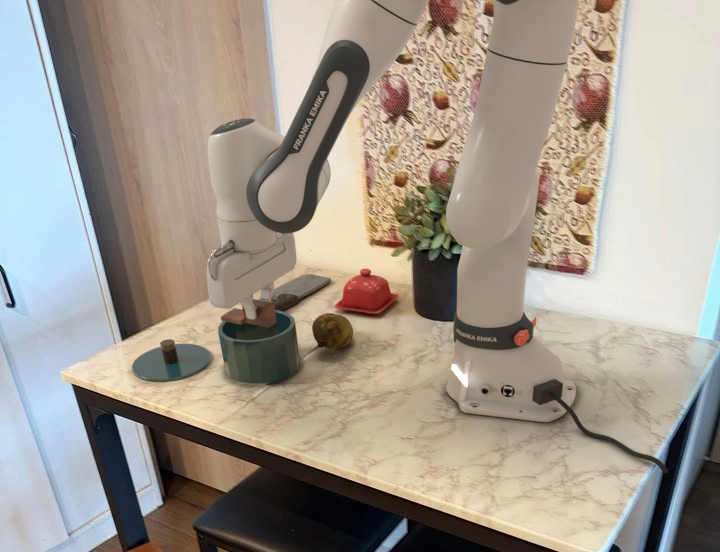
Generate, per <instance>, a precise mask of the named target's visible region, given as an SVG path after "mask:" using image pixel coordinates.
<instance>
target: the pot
mask: <svg viewBox="0 0 720 552" xmlns="http://www.w3.org/2000/svg"><path fill="white" fill-rule="evenodd" d="M275 313H276V320H277V323H275V324H274V325H272V326H271V327H264V326H258V325H253V324H248V323H243V324H242V325H240V324H235V323H230V322H225V321H221V323H219V325H218V327H217V332H218V333H217V334H218V339H219V345H220V350H221V355H222V360H223V365H224V371H225V374H226V375H227V376H228V377H229V378H230V379H231V380H234V381H236V382H239V383H245V384H265V386H269V385H274V384H276V383H277V384H278V383H280V382H283V381H285V380H287V379H289V378H291V377H292V376H294V375H296V373H297V372H298V371H299V369H300V366H301V360H300V351H299V350H300V349H299V342H298V335H297V326H296V325H297V324H296V320H295V317H294V316H293V315H291V314H290V313H288V312H286V311H284V310H282V311H279V310H275Z"/></svg>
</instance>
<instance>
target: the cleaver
mask: <svg viewBox="0 0 720 552" xmlns="http://www.w3.org/2000/svg"><path fill="white" fill-rule="evenodd" d="M330 282H332V278H331V277H327V276H322V275H316V274H312V273H310V274H309V273H308V274H304V275H301V276H299V277H296V278H294V279H291V280H290V281H288V282H285V283H283V284H281V285H280V286H277V287H276V288H274V290H273V294H272V298H271V301H272V300H273V301H272V302H273V303H274V305H275V310H279V311H284V310H286V309H289V308H290V307H292V306H294V305H296V304H297V303H299V300H301V299H303V298H305V297H306V296H308V295H310V294H312V293H314V292H315V291H317V290H319V289H321V288H323V287H324V286H326V285H327V284H329V283H330Z"/></svg>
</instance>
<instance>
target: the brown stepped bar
mask: <svg viewBox="0 0 720 552" xmlns="http://www.w3.org/2000/svg"><path fill="white" fill-rule="evenodd" d="M252 303H253V304H254V306H256V307H258V308H259V316H258V317H257V318H255V319H248V318H247V317H246V312H245V309H244V307H243V306H242V305H241V308H242V309H241V308H236V307H233V308H231V309H229V311H227V312H225V313H224V314H223V315H221V316H220V321H221V322H223V321H225V322H230V323H235V324H240V325H242V324H243V323H248V324H253V325H258V326H264V327H271V326H272V325H274V324H275V323H277V320H276V313H275V305H274V303H273V301H271V302H267V301H262V300H259V299H255V298H254V300H252Z"/></svg>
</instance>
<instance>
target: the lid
mask: <svg viewBox="0 0 720 552" xmlns="http://www.w3.org/2000/svg"><path fill="white" fill-rule="evenodd" d="M159 345H160V346H158V347H156V348H153V349H150V350H148V351H146V352H144V353H142V354H140V355H139V356H138V357H137V358H135V360H134V361H133V363H132V365H131V370H132V373H133V374H134V375H135V376H136V377H137V378H138V379H141V380H144V381H147V382H153V383H155V382H158V383H161V382H165V383H166V382H173V381H174V382H175V381H178V380H183V379H186V378H189V377H192V376H194V375H196V374H198V373H200V372H202V371H203V370H204V369H205V368H207V367H208V365H210V363H211V360H212V356H211V352H210V351H209V350H208V349H207V348H206V347H204V346H201V345H199V344H194V343H176V341H175V340H174V339H172V338H171V339H170V338H169V339H164V340H161V341H160V343H159Z"/></svg>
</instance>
